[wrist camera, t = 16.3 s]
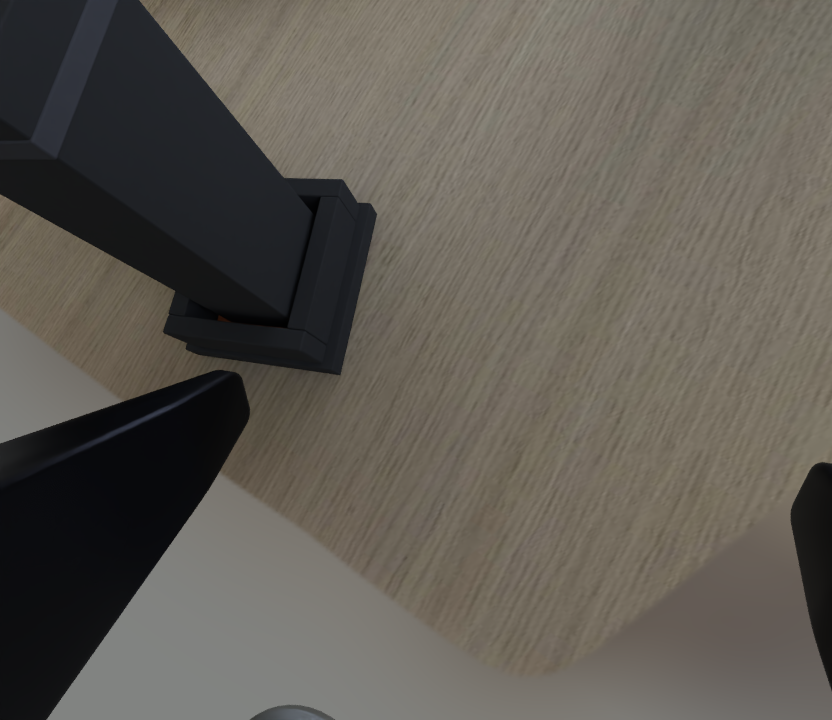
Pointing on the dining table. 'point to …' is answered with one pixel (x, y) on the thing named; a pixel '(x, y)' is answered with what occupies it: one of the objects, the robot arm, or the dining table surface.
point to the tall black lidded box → (144, 157)
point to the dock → (297, 293)
